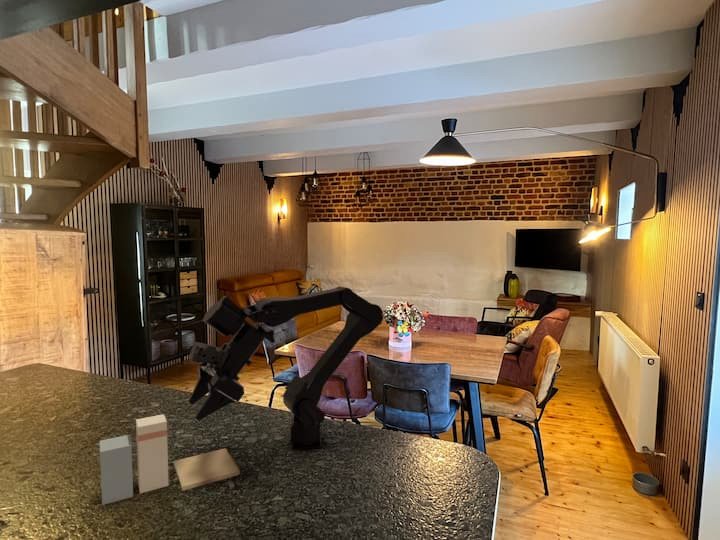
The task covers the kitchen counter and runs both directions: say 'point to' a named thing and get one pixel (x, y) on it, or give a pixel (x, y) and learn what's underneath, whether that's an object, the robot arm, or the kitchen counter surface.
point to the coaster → (205, 468)
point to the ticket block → (116, 469)
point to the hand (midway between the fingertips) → (193, 410)
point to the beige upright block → (152, 453)
